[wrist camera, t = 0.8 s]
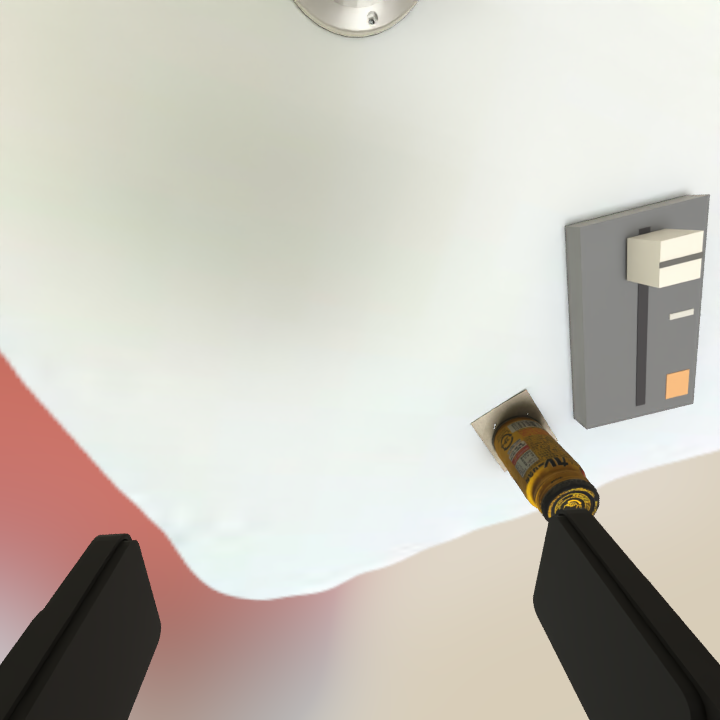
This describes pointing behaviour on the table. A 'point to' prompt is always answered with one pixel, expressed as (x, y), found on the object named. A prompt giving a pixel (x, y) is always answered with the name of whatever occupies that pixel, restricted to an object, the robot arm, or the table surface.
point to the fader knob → (664, 257)
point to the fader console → (631, 317)
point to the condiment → (535, 457)
